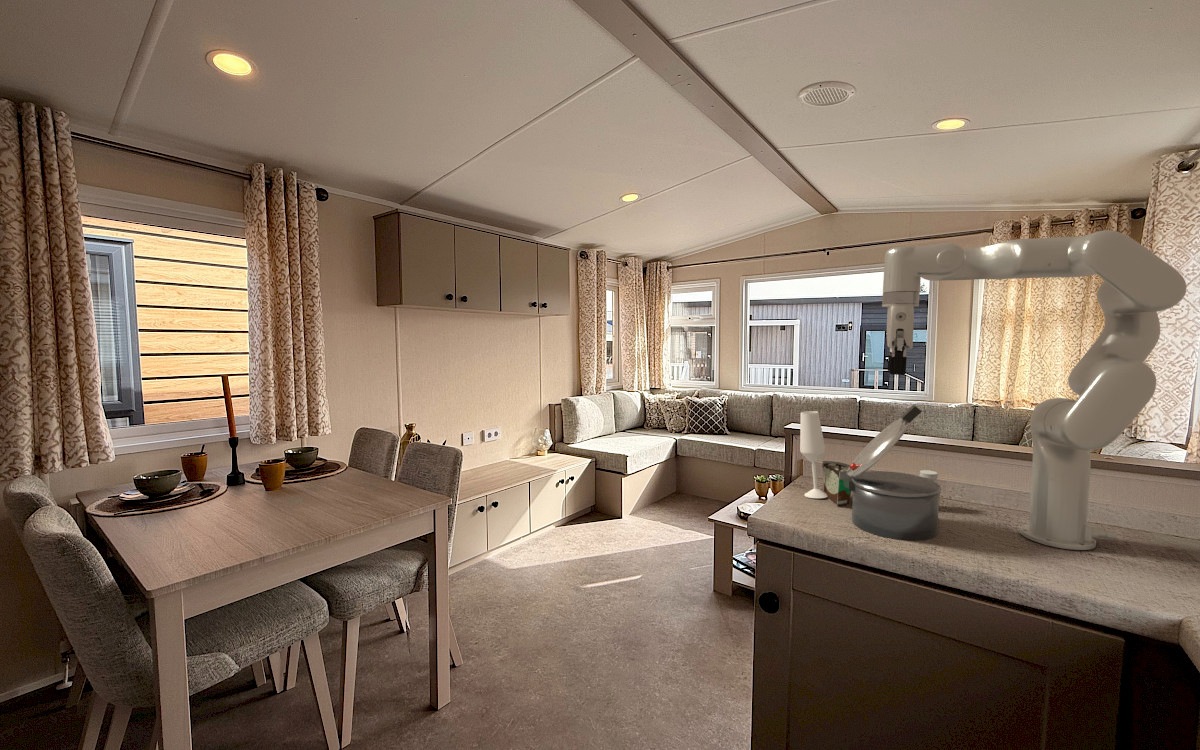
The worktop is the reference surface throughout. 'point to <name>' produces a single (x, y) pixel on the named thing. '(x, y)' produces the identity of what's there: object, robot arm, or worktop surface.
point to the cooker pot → (895, 505)
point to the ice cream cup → (836, 482)
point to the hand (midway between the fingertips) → (896, 372)
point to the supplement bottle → (930, 476)
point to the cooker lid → (882, 443)
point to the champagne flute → (812, 446)
